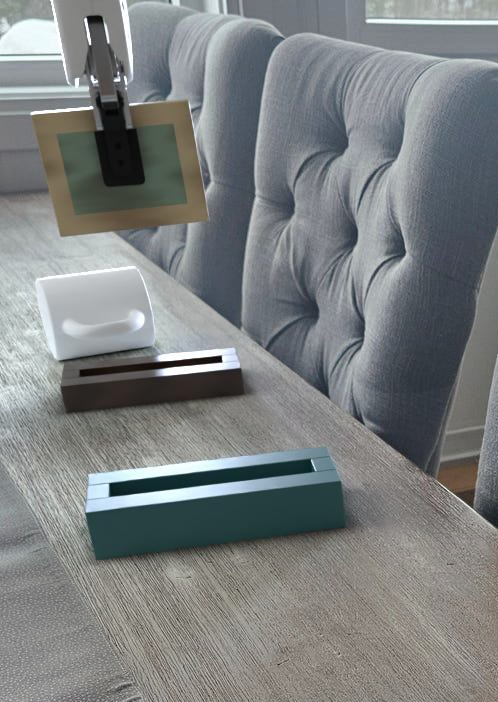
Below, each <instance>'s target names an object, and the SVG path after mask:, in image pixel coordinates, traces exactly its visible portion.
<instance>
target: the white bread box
mask: <svg viewBox="0 0 498 702" xmlns="http://www.w3.org/2000/svg"><path fill="white" fill-rule="evenodd" d="M34 287H35V295H36V300H37V305H38V309H39V315H40V318H41V323H42V326H43V329H44V333H45V336H46V339H47V340H46V341H47V343H48V346H49V349H50V351H51V353H52V355H53V357H54V359H55V360H56V361H65V360H71V359H78V358H83V357H90V356H96V355H104V354H109V353H110V354H111V353H117V352H123V351H128V350H129V351H130V350H135V349H142V348H147V347H152V346H154V344H155V342H156V326H155V320H154V319H155V318H154V314H153V313H154V312H153V309H152V304H151V300H150V296H149V292H148V289H147V286H146V282H145V280H144V277H143V275H142V272H140V270H139V269H138V268H137V266H135V265H133V266H126V267H125V266H124V267H118V268H110V269H102V270H95V271H94V270H93V271H87V272H85V271H84V272H78V273H71V274H64V275H55V276H47V277H40V278H36V279H35V282H34Z"/></svg>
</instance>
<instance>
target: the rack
mask: <svg viewBox="0 0 498 702" xmlns="http://www.w3.org/2000/svg"><path fill="white" fill-rule="evenodd" d="M242 369H243V368H242V366H241V361H240V358H239V355H238V352H237V348H236V347H235V346H234V347H226V348H215V349H214V348H213V349H205V350H196V351H186V352H185V351H183V352H174V353H165V354H154V355H153V354H152V355H145V356H133V357H124V358H115V359H104V360H93V361H83V362H76V363H74V362H73V363H72V362H71V363H65V364H64V363H63V367H62V374H61V379H60V386H59V387H60V392H61V396H62V402H63V405H64V410H65V413H66V414H71V413H73V414H74V413H80V412H90V411H91V412H93V411H99V410H100V411H101V410H111V409H118V408H127V407H128V408H130V407H137V406H138V407H139V406H146V405H147V406H148V405H155V404H157V405H158V404H165V403H173V402H175V403H176V402H184V401H185V402H186V401H195V400H203V399H212V398H222V397H232V396H241V395H246V391H245V389H246V388H245V384H244V375H243V370H242Z"/></svg>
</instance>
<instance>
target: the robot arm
mask: <svg viewBox="0 0 498 702" xmlns="http://www.w3.org/2000/svg"><path fill="white" fill-rule="evenodd" d="M50 1H51V6H52V12H53V16H54V22H55V26H56V32H57V36H58V42H59V47H60V51H61V55H62V61H63V68H64V73H65V77H66V78H65V79H66V82H67V84H68V85H69V86H70V87H72V88H78V86H79V79H83V78H84V75H85V76H86V81H87V86H88V89H87V90H88V93H89V97H90V102H91V107H93V113H94V118H95V123H96V128H97V131H94V134H95V139H96V144H97V149H98V155H99V160H100V165H101V170H102V175H103V181H104V184H105V185H106V186H108V187H115V186H129V185H141V184H144V182H145V175H144V170H143V164H142V158H141V152H140V147H139V141H138V135H137V129H136V128H135V129H133V125H132V119H131V114H130V108H129V104H130V103H129V96H128V88H127V85H129V84H130V83H131V82H132V81H133V80H134V64H133V63H134V62H133V61H134V60H133V46H132V45H133V44H132V37H131V36H132V35H131V27H130V18H129V11H128V3H127V0H50ZM117 78H118V79H117ZM94 80H96V81H94ZM122 109H123V110H122ZM100 111H101V112H100ZM123 113H124V116H123ZM101 116H102V117H101ZM124 118H125V120H124ZM125 124H126V127H125ZM103 126H104V128H103Z"/></svg>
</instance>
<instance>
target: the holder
mask: <svg viewBox="0 0 498 702" xmlns="http://www.w3.org/2000/svg"><path fill="white" fill-rule="evenodd" d="M86 483H87V484H86V496H85V506H84V507H85V509H84V515H85V519H86V524H87V528H88V533H89V537H90V541H91V545H92V549H93V554H94V559H95V560H96V561H99V560H106V559H107V560H108V559H114V558H116V559H117V558H122V557H130V556H137V555H138V556H139V555H145V554H152V553H159V552H167V551H175V550H182V549H190V548H198V547H204V546H205V547H206V546H213V545H221V544H227V543H234V542H235V543H236V542H241V541H249V540H256V539H257V540H258V539H264V538H272V537H279V536H288V535H294V534H303V533H310V532H317V531H324V530H332V529H339V528H346V527H347V525H346V524H347V523H346V513H345V502H344V493H343V481H342V479H341V477H340V475H339V472H338V469H337V468H336V465H335V462H334V460H333V458H332V456H331V453H330V450H329V448H328V446H326V445H324V446H316V447H307V448H300V449H291V450H283V451H282V450H281V451H274V452H265V453H264V452H263V453H257V454H248V455H240V456H232V457H224V458H214V459H206V460H198V461H190V462H189V461H188V462H181V463H180V462H179V463H172V464H165V465H164V464H163V465H156V466H148V467H147V466H146V467H138V468H130V469H122V470H113V471H104V472H96V473H88V474H87V482H86Z"/></svg>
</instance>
